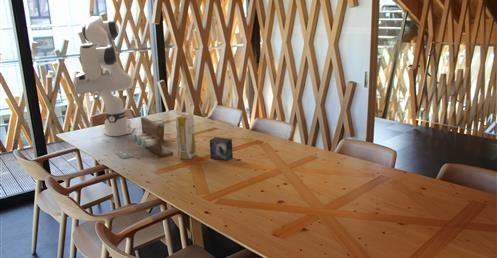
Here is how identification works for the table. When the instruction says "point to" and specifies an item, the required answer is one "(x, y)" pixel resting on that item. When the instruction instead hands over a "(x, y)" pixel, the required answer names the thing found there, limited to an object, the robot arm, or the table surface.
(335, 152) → the table surface
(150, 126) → the brown wooden rack
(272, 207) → the table surface
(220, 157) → the small box
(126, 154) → the card
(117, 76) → the robot arm
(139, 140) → the button middle
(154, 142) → the button
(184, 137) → the juice carton
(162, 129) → the disposable coffee cup
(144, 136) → the button
